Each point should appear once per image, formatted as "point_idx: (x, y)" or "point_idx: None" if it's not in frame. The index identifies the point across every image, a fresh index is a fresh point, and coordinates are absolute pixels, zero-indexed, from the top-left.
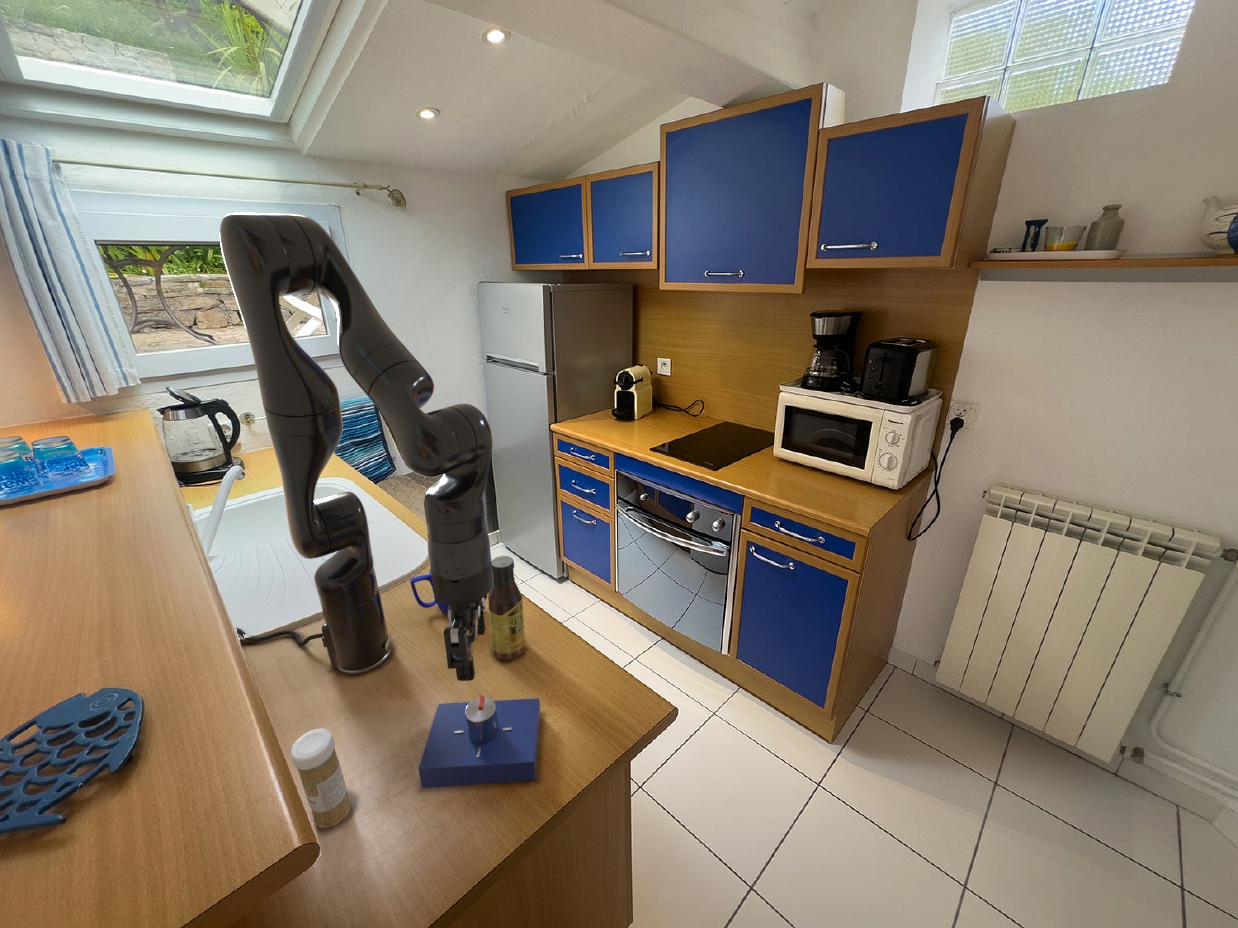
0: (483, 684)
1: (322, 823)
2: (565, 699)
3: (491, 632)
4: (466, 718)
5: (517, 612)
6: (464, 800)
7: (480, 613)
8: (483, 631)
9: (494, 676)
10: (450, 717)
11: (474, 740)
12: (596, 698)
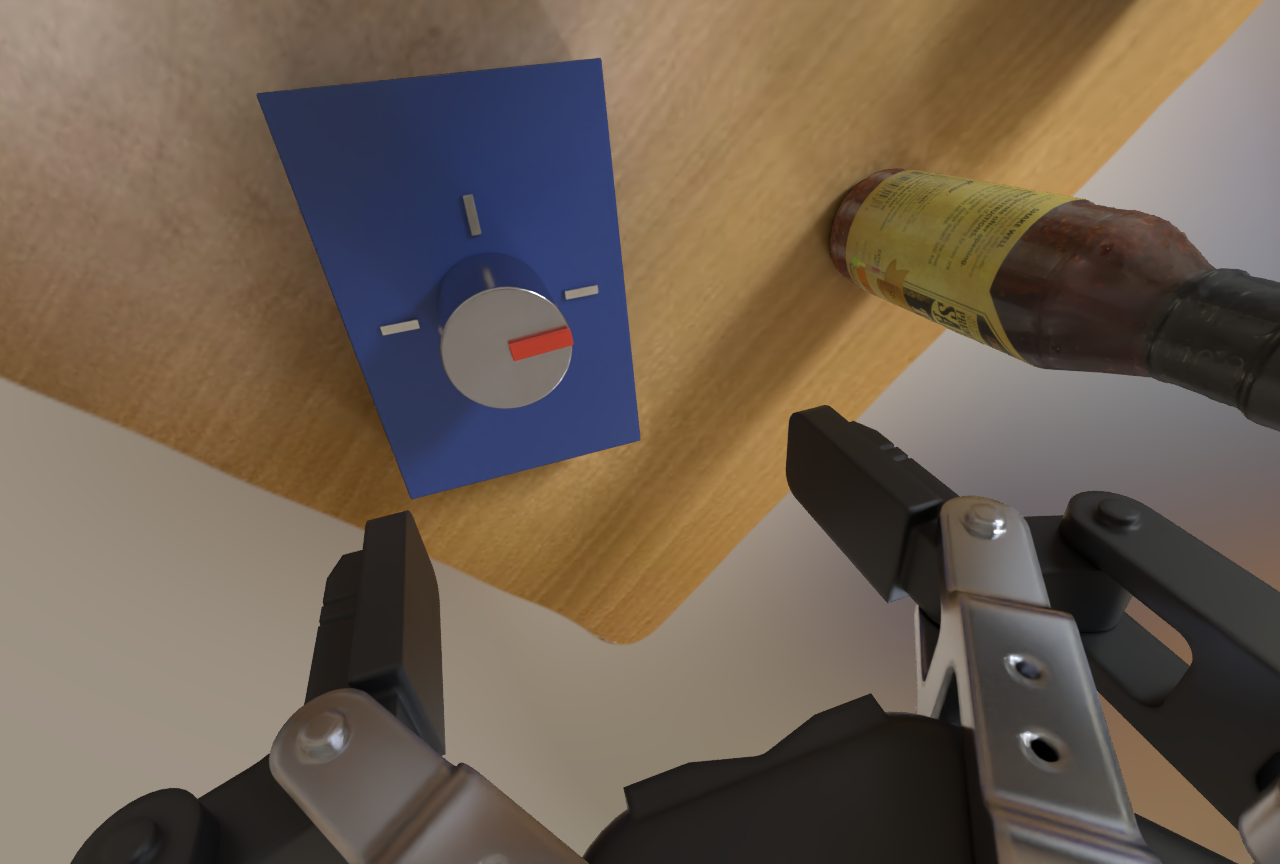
0: (738, 179)
1: None
2: (673, 450)
3: (937, 197)
4: (456, 304)
5: (988, 345)
6: (287, 274)
7: (904, 588)
8: (798, 494)
9: (768, 210)
10: (535, 148)
11: (436, 301)
12: (675, 518)
